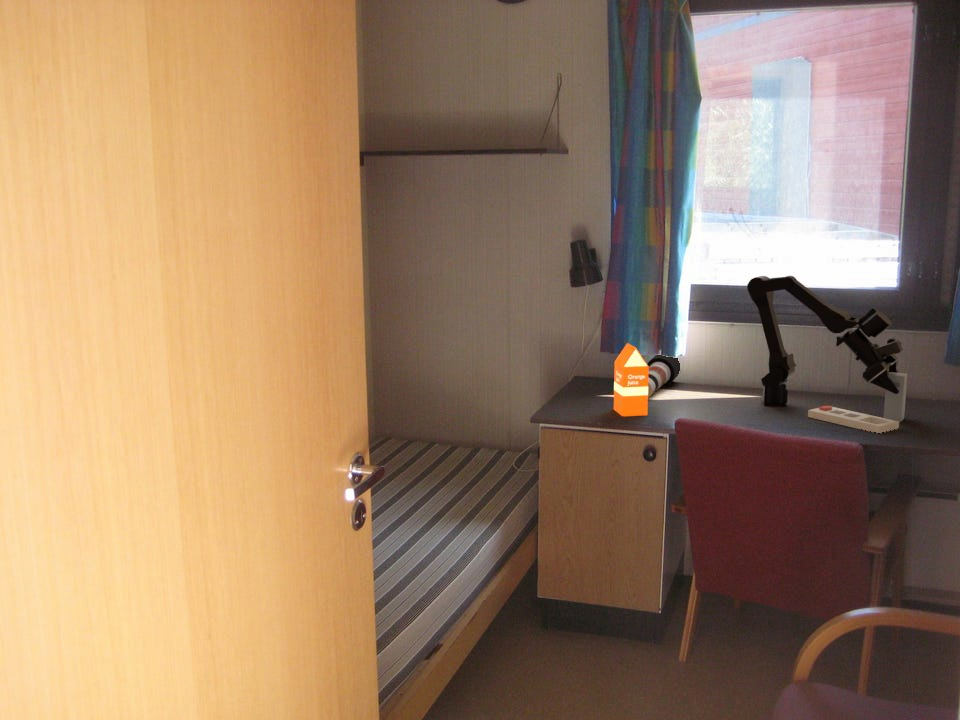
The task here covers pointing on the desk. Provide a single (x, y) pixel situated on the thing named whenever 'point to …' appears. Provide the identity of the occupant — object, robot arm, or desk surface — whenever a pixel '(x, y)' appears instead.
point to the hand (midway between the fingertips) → (901, 390)
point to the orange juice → (630, 383)
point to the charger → (896, 398)
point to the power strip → (853, 419)
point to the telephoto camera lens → (661, 372)
